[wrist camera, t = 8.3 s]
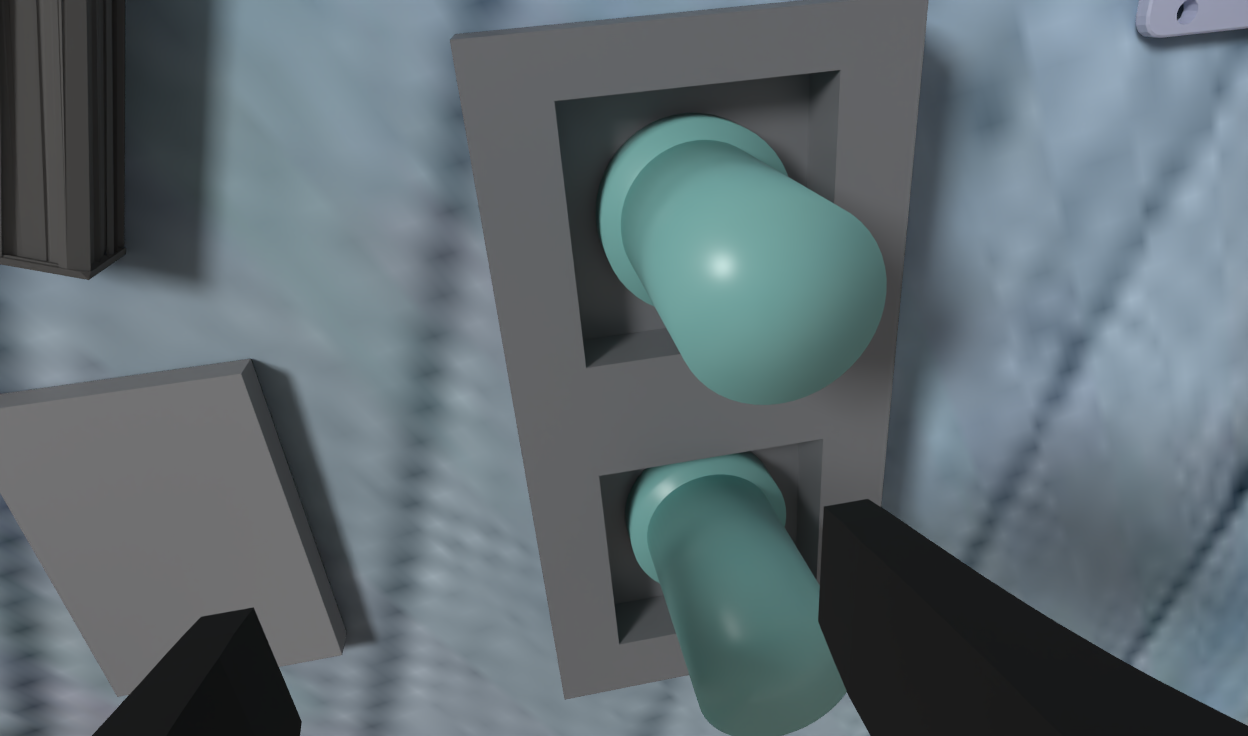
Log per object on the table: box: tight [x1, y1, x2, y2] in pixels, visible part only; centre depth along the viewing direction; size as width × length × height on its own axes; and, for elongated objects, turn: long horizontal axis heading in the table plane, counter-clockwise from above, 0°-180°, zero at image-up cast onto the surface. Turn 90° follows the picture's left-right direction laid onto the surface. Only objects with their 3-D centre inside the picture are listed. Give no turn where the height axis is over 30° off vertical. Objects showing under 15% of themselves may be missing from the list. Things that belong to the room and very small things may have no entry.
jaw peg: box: [625, 451, 847, 736], centre depth 18 cm, size 4×4×6 cm
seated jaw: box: [595, 112, 887, 405], centre depth 14 cm, size 4×4×6 cm
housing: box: [450, 0, 928, 699], centre depth 19 cm, size 9×17×2 cm, turn 5°
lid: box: [0, 359, 347, 697], centre depth 19 cm, size 6×9×1 cm, turn 5°
